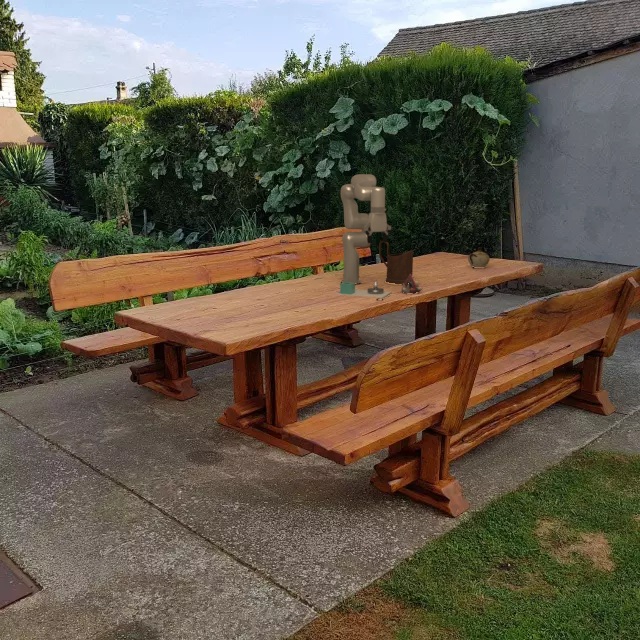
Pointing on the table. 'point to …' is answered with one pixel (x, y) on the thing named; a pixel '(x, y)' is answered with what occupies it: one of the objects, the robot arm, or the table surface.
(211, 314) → the table surface
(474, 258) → the sugar bowl
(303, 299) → the table surface
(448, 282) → the table surface
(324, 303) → the table surface
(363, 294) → the board
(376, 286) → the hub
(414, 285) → the brake caliper
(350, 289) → the collar
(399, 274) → the brown pitcher
